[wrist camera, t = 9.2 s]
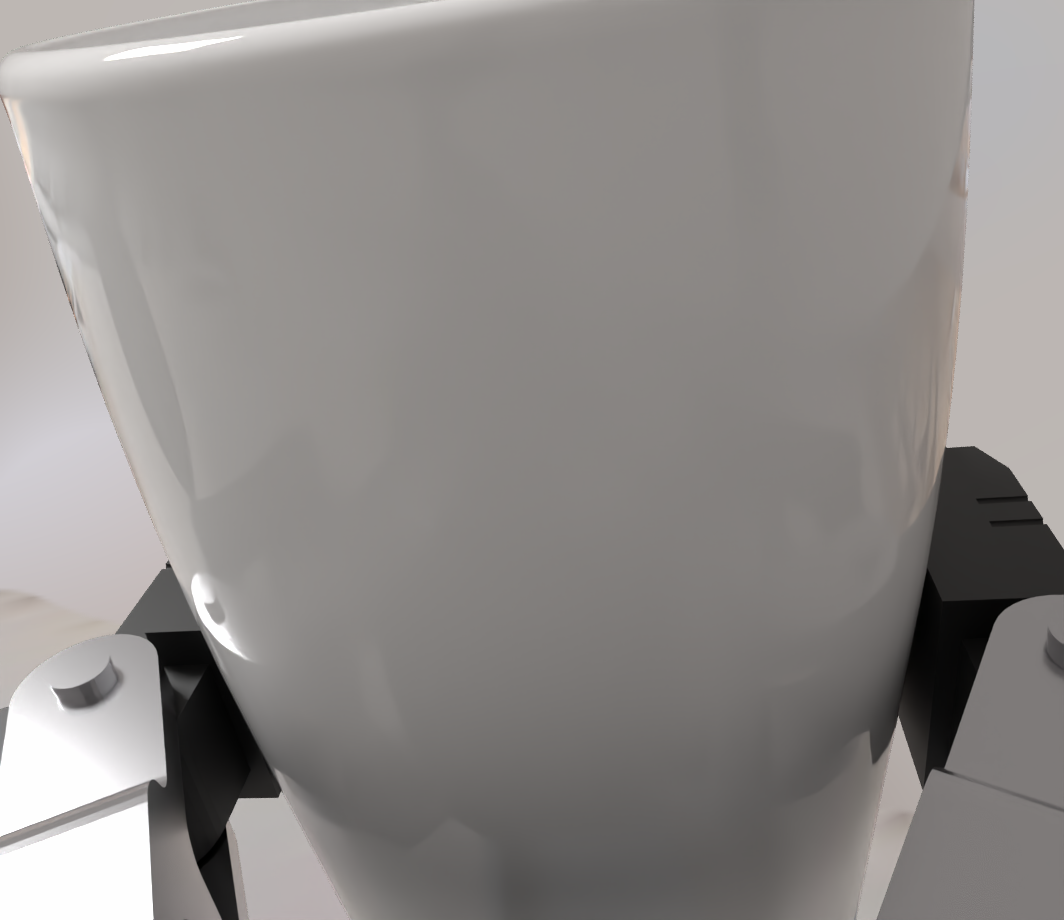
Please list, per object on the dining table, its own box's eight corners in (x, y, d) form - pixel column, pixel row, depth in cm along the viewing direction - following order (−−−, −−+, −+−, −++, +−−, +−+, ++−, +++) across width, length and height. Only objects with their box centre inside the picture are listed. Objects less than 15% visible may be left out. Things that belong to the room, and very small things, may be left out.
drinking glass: (856, 910, 16) (910, -101, 9) (914, 1463, 10) (1196, -104, 3) (477, 874, 18) (260, -4, 10) (347, 1338, 12) (-332, 110, 5)
